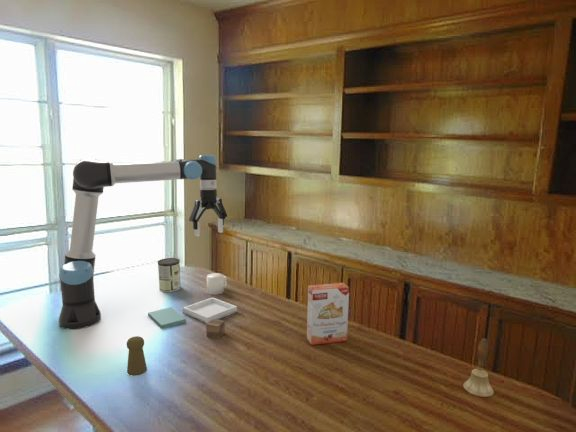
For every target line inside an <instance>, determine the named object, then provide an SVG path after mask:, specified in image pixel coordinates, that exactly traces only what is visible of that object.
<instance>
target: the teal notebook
mask: <svg viewBox="0 0 576 432" xmlns="http://www.w3.org/2000/svg"><path fill="white" fill-rule="evenodd" d="M147 317H148V318H149V319H150V320H151V321H153V322H154V323H155V324H156V325H157V327H159V328H160V329H166V328H169V327H174V326H178V325H180V324H181V323H182V324H185V323H186V322H187V319H186V318H185V317H184V316H183V315H182V314H180V313H179V312H178V311H176V309H174V308H172V307H166V308H162V309H158V310H153V311H150V312H147Z"/></svg>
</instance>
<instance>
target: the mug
mask: <svg viewBox="0 0 576 432" xmlns="http://www.w3.org/2000/svg"><path fill="white" fill-rule="evenodd" d="M227 279H228V278H227V276H225V275H224V274H223V273H219V272H217V273H216V272H213V273H212V272H211V273H209V274H207V275H206V292H207V294H209V295H212V296H214V295H221V294H223V293H224V292H225V288H227V281H228V280H227Z"/></svg>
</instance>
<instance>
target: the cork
mask: <svg viewBox="0 0 576 432" xmlns="http://www.w3.org/2000/svg"><path fill="white" fill-rule="evenodd" d="M144 345H145V340H144V338H143V337H142V336H139V335H138V336H132V337H130V338H128V340H127V341H126V348H127V349H128V353H127V354H128V357H127V358H128V359H127V366H126V367H127V368H126V369H127V370H126V373H128V374H129V375H128V374H127V375H128V376H131V375H132V376H133V377H137V376H141V375H144V374H145V373H146V372H147V371H148V367H147V362H146V356H145V353H144Z"/></svg>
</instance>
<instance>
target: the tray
mask: <svg viewBox="0 0 576 432" xmlns="http://www.w3.org/2000/svg"><path fill="white" fill-rule="evenodd" d="M235 313H238V306H237V305H234V304H232V303H229V302H227V301H223V300H221V299H219V298H215V297H213V296H212V297H209V298H206V299H203V300H201V301H197V302H195V303H192V304H190V305H186V306H184V307H182V314H184V315H186V316H188V317H191V318H194V319H195V320H197V319H198V321H200V322H202V323H205V324H207V323H208V322H210V321H211V320H212V319H217V320H222V319H223V318H225V317H227V316H230V315H233V314H235Z"/></svg>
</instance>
